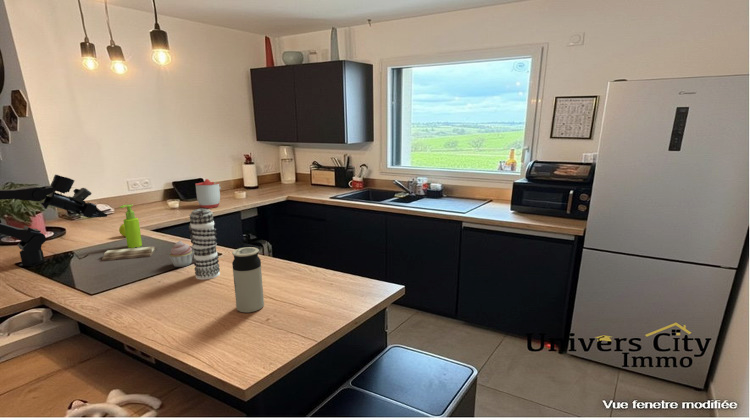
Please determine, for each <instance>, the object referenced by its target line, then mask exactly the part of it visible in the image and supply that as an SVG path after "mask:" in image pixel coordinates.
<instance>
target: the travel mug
mask: <svg viewBox="0 0 750 420" xmlns="http://www.w3.org/2000/svg"><path fill="white" fill-rule="evenodd" d="M259 251H260V249H259V248H258V247H252V246H251V247H250V246H249V247H248V246H247V247H239V248H237V249H234V250H233V251H232V252H231V254H232V256H233V260H232V261H231V262H232V263H231V264H232V273H233V274H232V276H233V285H234V286H233V287H234V294H235V295H234V297H235V306H236V311H238V312H241V313H245V314H246V313H253V312H256V311H259V310H261V309H262V308H263V307H264V306H265V301H264V299H265V298H264V286H263V273H262V264H261V263H262V262H261V258H260V256H259Z"/></svg>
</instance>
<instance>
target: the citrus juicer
mask: <svg viewBox="0 0 750 420" xmlns="http://www.w3.org/2000/svg"><path fill="white" fill-rule="evenodd" d="M194 184H195V193H196V199H197V202H198V205H199V207H200V209H211V208H217V207H219V205H220V202H221V191H220V190H221V189H222V187H221V186H220V182H217V183H215V182H214V181H210V180H209V179H208V178H206V179H205V180H204V181H202V182H198V183H197V182H196V183H194Z"/></svg>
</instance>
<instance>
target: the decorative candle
mask: <svg viewBox="0 0 750 420" xmlns="http://www.w3.org/2000/svg"><path fill="white" fill-rule="evenodd" d="M213 214H214V212H213V211H211V209H210V208H196V209H193V210H192V211H191V213H190V214H188V216H189V221H190V223H189V226H188V230H189V231H188V232H189V238H190V243H191V244H192V245H191V248H192V249H193V252H194V254H193V258H192V259H193V262H194V263H193V264H194V275H195V278H196V279H197V280H200V281H201V280H204V281H205V280H212V279H214V278H218V277H219V276H220V275H221V272H220V271H221V270H220V267H221V266H220V264H219V262H220V260H219V255H218V251H217V244H218V242H217V241H218V238H217V237H216V236H217V235H218V233H217V232H216V231H217V230H218V229H217V228H216V225H217V223H216V222H215V221H214V216H213Z"/></svg>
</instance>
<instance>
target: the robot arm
mask: <svg viewBox="0 0 750 420" xmlns="http://www.w3.org/2000/svg"><path fill="white" fill-rule="evenodd" d="M75 181H76V180H74V179H72V178H70V177H67V176H62V175H59V174H54V176H53V179H52V181H51V183H50V185H45V186H41V187H40V186H37V185H36V186H35V185H34V186H33V185H31V186H25V187H19V188H15V189H14V188H13V189H0V201H1V200H20V201H21V200H22V201H30V202H31V201H32V202H39V204H40V205H41V208H42V209H45V210H46V209H48V207H49V206H51V207H54V208H58V209H60V210H64V211H67V212H70V213H73V214H76V215H81V216H82V217H85V218H88V219H91V218H106V217H108V214H107V213H105V212H104V211H101V210H100V209H98V207H97V204H96V203H95V204H94V203H92V202H86V201H85V200H86V199H87V198H89V196H91V195H92V192H91V191H90V190H89V189H87V188H86V187H81V188H80V189H79V188H75V189H73V191H72V192H73V195H72V196H70V195H64V194H67V193H70V191H71V189H72V187H73V185H74V183H75ZM0 234H2V235H4V236H8V237H11V238H14V239H16V240H19V242H18V244H17V247H18V248H19V249H20V251H19V256H20V260H21V263H20V264H18V266H19V267H35V266H37V265H41V264H44V263H46V262H48V259H45V256H44V252H43V250H42V246H43V244H44V243H45V242H46V240H47V237H46V236H45V234H44V233H43V232H42V231H41V229H37V228H33V227H29V226H27V225H24V226H23V228H22V227H21V228H20V227H16V226H12V225H9V224H5V223H1V222H0Z"/></svg>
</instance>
